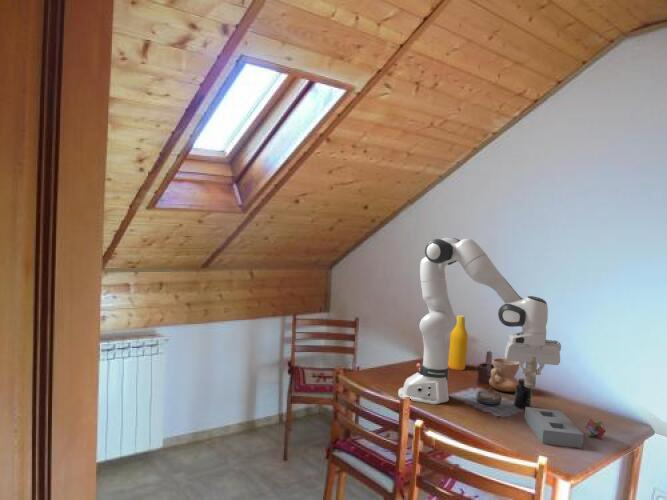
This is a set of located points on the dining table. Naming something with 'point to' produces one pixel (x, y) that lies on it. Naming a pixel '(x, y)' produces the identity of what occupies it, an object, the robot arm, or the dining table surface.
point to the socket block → (553, 427)
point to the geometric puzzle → (595, 429)
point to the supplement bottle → (522, 395)
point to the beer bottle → (458, 345)
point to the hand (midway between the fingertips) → (530, 373)
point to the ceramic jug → (504, 375)
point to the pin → (530, 373)
